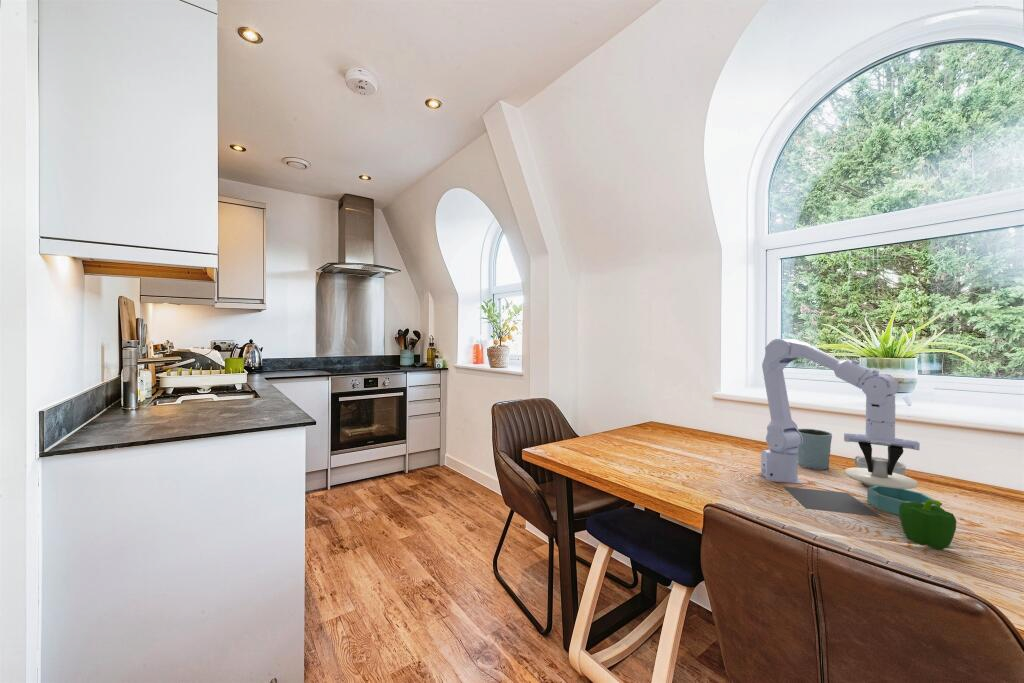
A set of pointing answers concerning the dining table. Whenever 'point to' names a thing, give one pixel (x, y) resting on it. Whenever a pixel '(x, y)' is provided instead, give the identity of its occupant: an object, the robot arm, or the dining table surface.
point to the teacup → (862, 463)
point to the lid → (881, 476)
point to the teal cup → (814, 449)
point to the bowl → (893, 498)
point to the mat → (830, 501)
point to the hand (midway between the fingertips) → (879, 472)
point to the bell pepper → (927, 523)
